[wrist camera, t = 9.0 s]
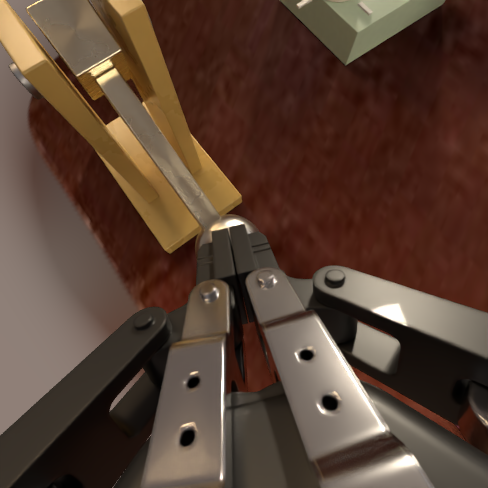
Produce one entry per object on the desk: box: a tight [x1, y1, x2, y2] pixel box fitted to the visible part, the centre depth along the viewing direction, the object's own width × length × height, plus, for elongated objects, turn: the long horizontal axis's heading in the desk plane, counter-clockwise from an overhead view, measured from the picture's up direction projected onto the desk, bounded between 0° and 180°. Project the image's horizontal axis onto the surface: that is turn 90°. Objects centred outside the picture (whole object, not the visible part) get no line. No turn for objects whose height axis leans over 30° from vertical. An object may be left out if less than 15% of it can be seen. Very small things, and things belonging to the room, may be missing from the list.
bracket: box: [0, 0, 242, 253], centre depth 16 cm, size 12×7×13 cm, turn 37°
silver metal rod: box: [26, 0, 258, 258], centre depth 13 cm, size 14×4×4 cm, turn 37°
